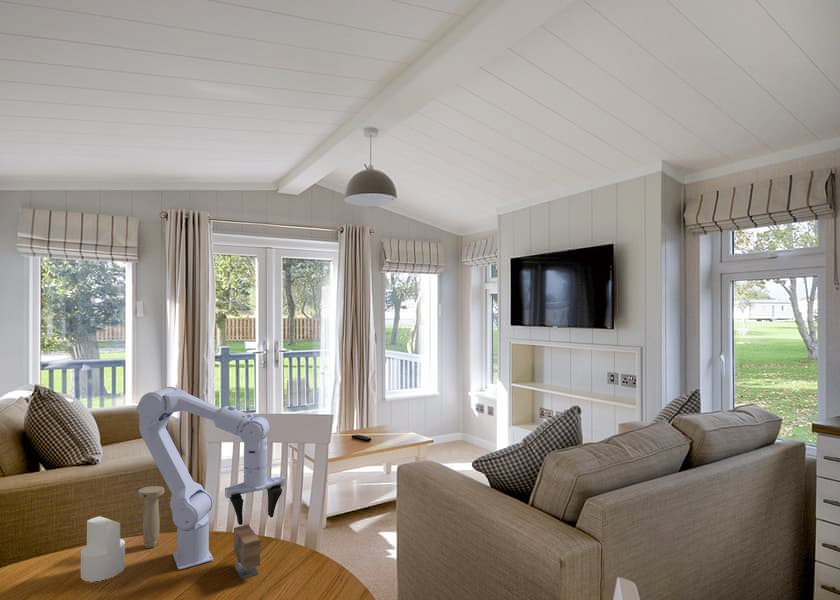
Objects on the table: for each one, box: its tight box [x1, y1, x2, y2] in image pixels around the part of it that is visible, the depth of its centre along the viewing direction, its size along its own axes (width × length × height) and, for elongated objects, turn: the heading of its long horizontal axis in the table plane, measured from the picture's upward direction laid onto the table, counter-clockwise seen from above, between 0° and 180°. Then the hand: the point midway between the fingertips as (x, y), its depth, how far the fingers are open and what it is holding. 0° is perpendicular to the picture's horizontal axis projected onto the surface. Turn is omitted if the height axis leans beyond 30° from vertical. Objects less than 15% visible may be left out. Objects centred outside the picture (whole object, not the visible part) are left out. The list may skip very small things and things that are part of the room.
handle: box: [137, 485, 165, 549], centre depth 132 cm, size 5×6×15 cm
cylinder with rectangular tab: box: [80, 516, 126, 583], centre depth 119 cm, size 9×9×12 cm
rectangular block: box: [233, 524, 261, 570], centre depth 119 cm, size 10×4×6 cm, turn 34°
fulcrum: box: [234, 558, 259, 580], centre depth 119 cm, size 6×4×3 cm, turn 34°
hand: (255, 519), depth 125 cm, fingers open, 7 cm apart
